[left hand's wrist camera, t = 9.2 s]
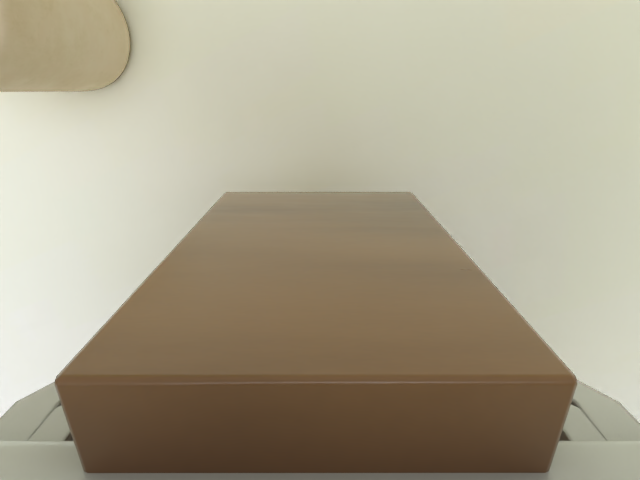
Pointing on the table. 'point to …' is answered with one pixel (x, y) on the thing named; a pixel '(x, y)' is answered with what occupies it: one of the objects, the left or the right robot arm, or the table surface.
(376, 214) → the bar
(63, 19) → the candle
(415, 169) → the table surface
